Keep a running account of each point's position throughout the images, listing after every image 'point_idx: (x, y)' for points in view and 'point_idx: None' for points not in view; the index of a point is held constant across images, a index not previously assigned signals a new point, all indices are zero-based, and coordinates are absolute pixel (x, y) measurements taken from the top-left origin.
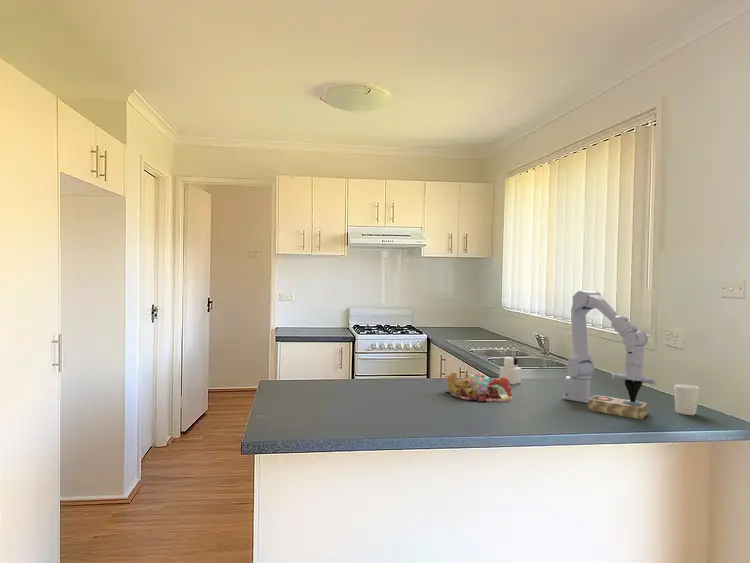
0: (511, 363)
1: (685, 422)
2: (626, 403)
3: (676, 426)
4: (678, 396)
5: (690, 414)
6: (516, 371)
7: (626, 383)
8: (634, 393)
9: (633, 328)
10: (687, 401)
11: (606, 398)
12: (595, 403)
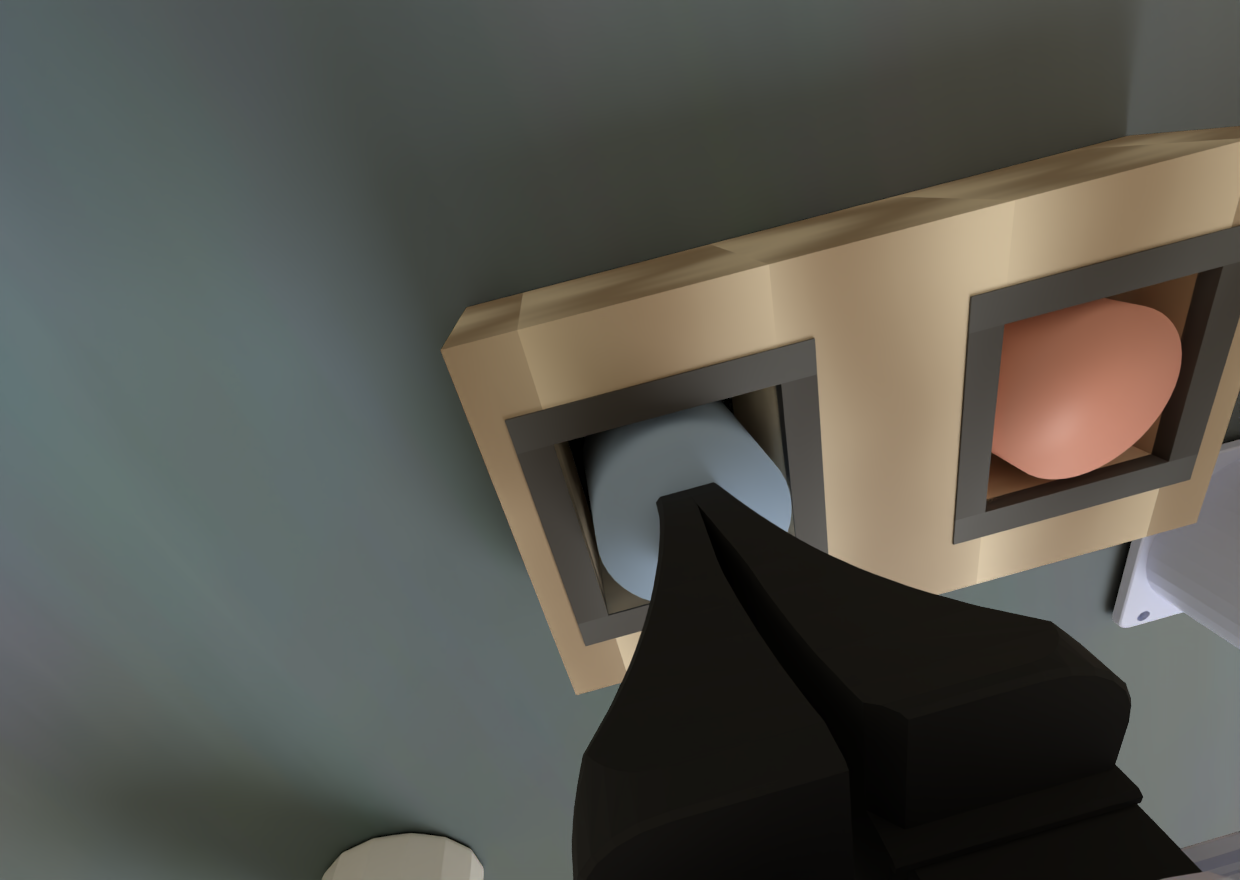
0: None
1: (153, 629)
2: (754, 442)
3: (17, 363)
4: None
5: (334, 862)
6: None
7: (1046, 657)
8: (688, 577)
9: None
10: None
11: (1051, 466)
12: (1150, 152)
